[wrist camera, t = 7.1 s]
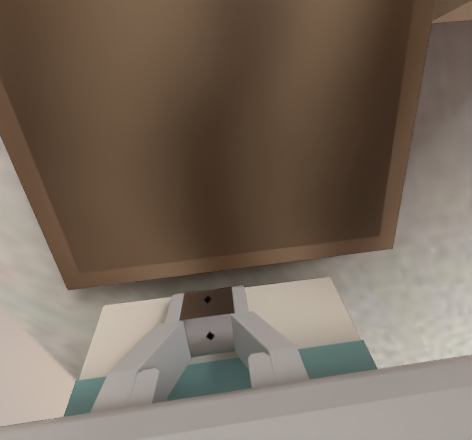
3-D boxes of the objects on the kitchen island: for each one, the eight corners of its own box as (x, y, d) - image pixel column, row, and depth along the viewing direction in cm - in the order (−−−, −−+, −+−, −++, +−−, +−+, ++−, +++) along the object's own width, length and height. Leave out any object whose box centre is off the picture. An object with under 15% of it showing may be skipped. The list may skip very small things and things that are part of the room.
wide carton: (331, 275, 11) (404, 423, 7) (305, 339, 17) (339, 443, 13) (102, 305, 11) (41, 482, 7) (153, 360, 16) (136, 476, 12)
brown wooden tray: (396, -65, 9) (458, -134, 7) (362, 229, 14) (392, 248, 11) (-17, -40, 8) (-106, -107, 6) (94, 262, 13) (67, 290, 11)
